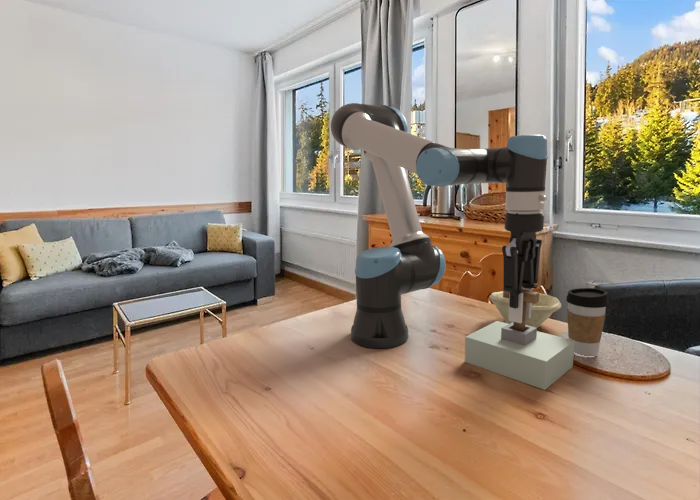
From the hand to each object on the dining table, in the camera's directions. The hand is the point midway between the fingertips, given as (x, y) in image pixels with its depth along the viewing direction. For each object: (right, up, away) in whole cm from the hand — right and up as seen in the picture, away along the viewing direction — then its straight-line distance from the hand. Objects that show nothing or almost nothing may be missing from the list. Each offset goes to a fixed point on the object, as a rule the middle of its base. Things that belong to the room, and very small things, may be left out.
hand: (519, 318), depth 91 cm
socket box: (0, -10, +2) cm, 11 cm away
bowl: (+11, -6, +25) cm, 28 cm away
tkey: (0, -4, +1) cm, 5 cm away
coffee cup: (+18, -9, +7) cm, 21 cm away
